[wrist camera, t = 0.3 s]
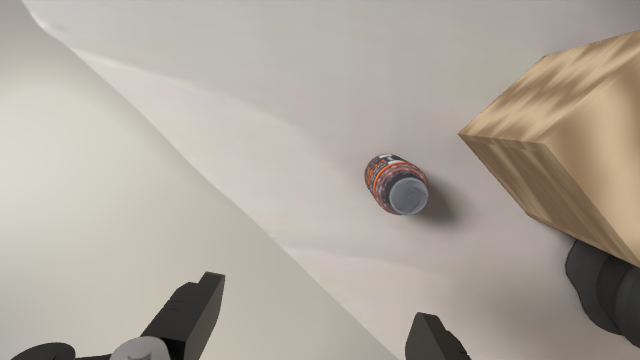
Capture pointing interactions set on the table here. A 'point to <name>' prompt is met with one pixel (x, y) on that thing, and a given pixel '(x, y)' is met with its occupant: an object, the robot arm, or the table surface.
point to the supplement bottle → (397, 185)
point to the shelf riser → (572, 143)
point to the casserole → (606, 289)
